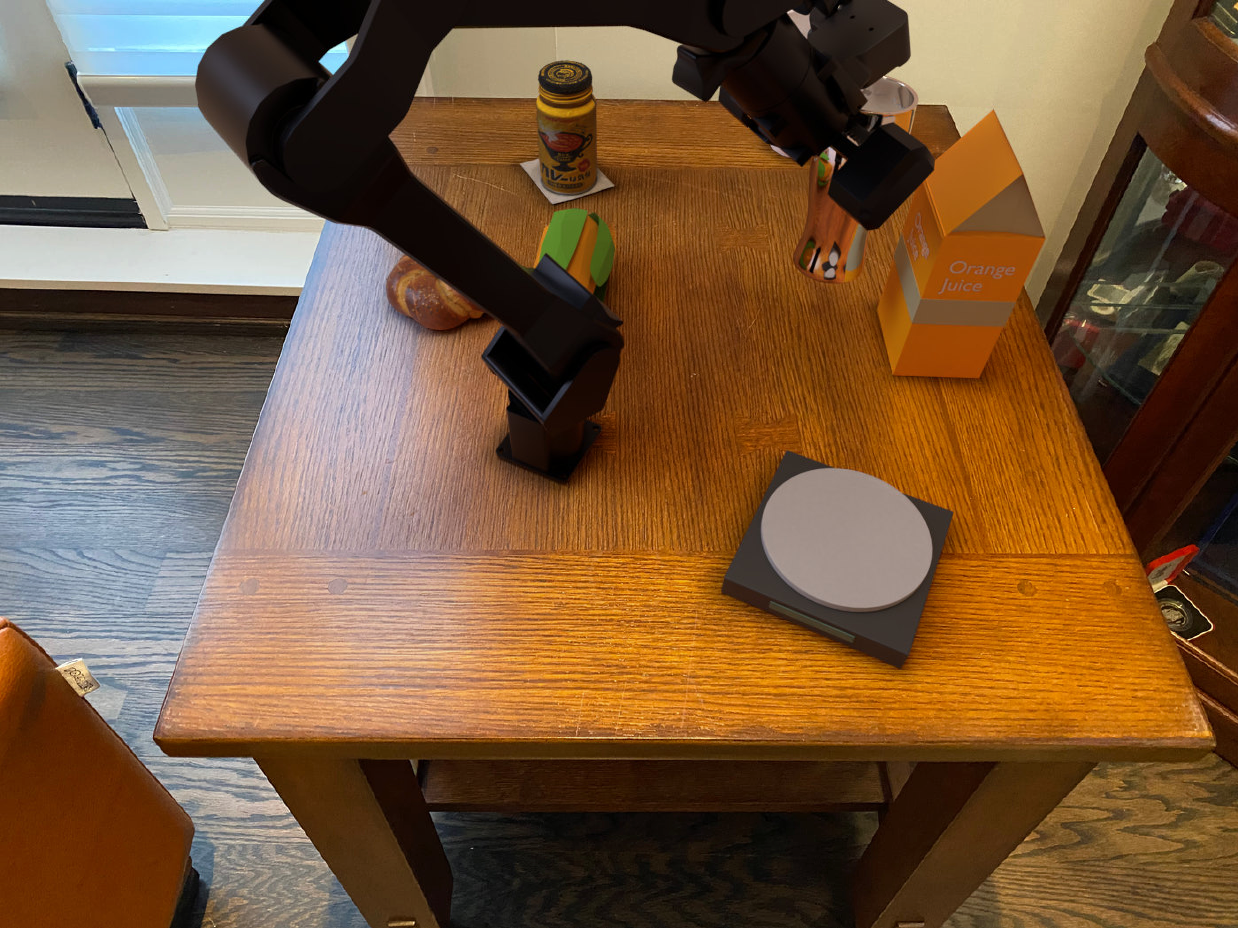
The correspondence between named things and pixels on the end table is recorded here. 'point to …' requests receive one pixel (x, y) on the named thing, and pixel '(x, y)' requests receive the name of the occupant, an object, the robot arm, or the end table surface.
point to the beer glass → (829, 231)
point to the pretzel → (427, 297)
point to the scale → (841, 556)
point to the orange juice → (960, 258)
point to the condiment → (566, 134)
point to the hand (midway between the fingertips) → (861, 180)
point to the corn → (580, 248)
